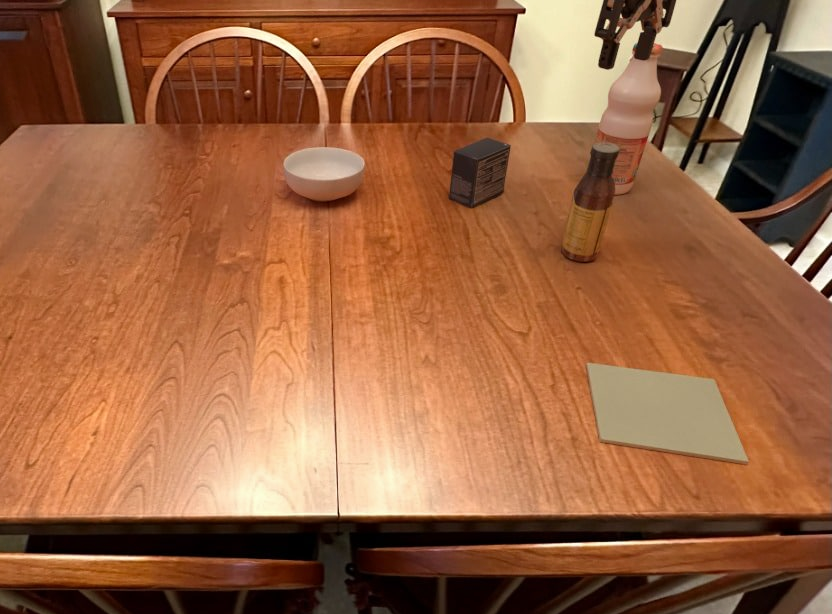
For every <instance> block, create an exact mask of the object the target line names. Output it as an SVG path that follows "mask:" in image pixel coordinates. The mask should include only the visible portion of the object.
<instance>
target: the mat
mask: <svg viewBox="0 0 832 614" xmlns="http://www.w3.org/2000/svg"><path fill="white" fill-rule="evenodd" d="M585 368H586V374H587V379H588V385H589V390H590V396H591V402H592V405H593V406H592V407H593V414H594V419H595V423H596V429H597V435H598V441H599V443H603V444H611V445H617V446H621V447H622V446H623V447H629V448H636V449H642V450H649V451H655V452H662V453H668V454H674V455H682V456H688V457H695V458H700V459H707V460H708V459H709V460H712V461H713V460H714V461H720V462H728V463H734V464H740V465H749V462H750V460H749V458H748V455H747V453H746V451H745V449H744V446H743V444H742V441H741V439H740V436H739V434H738V432H737V430H736V427H735V425H734V422H733V420H732V418H731V415H730V412H729V411H728V408H727V406H726V403H725V401H724V399H723V396H722V394H721V391H720V388H719V387H718V383H717V382H716V379H715V378H710V377H702V376H694V375H686V374H679V373H671V372H665V371H664V372H662V371H655V370H648V369H642V368H641V369H640V368H632V367H624V366H617V365H609V364H602V363H595V362H594V363H593V362H586V364H585Z"/></svg>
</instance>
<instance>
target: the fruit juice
mask: <svg viewBox="0 0 832 614" xmlns="http://www.w3.org/2000/svg"><path fill="white" fill-rule="evenodd" d="M637 43H638V42H636V43H634V45H633V47H632V50H631V54H632V56H631V59H630V60H629V63H628V64H627V66H626V67H625V69H624V70H623V72H622V73H621V74H620V76H618V78H617V79H616V80H615V81H614V82H613V83H612V84H611V85H610V88H609V89H608V94H607V107H606V109H605V110H604V112H603V113H602V115H601V118H600V120H599V124H598V128H597V132H596V135H595V139H594V143H593V145H594V144H595V143H600V142H602V143H604V142H605V143H612V144H615V145H617V146H618V147H619V149H620V150H619V154H618V157H617V158H616V160H615V164H614V168H613V173H612V178H613V180H614V183H615V194H614V196H616V195H617V196H618V195H623V194H627V193H629V192H630V191H631V189H632V188H633V185H634V183H635V179H636V177H637V173H638V170H639V167H640V164H641V161H642V158H643V156H644V155H643V154H644V151H645V149H646V145H647V143H648V139H649V137H650V133H651V130H652V127H653V126H652V125H653V121H654V117H653V112H654V110H655V108H656V107H657V105H658V103H659V102H660V100H661V95H662V88H661V85H660V83H659V80H658V70H657V69H658V59H659V57H661V54H662V53H663V45H662V44H660V43H655V42H654V45H653V48H652V51H651V55H650V58H649V59H648V60H645V61H642V60H638V59H635V58H634V53H635V50H636V46H637ZM590 158H591V156H590ZM590 158H589V159H590ZM588 166H589V164H588V165H587V167H588Z"/></svg>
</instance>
